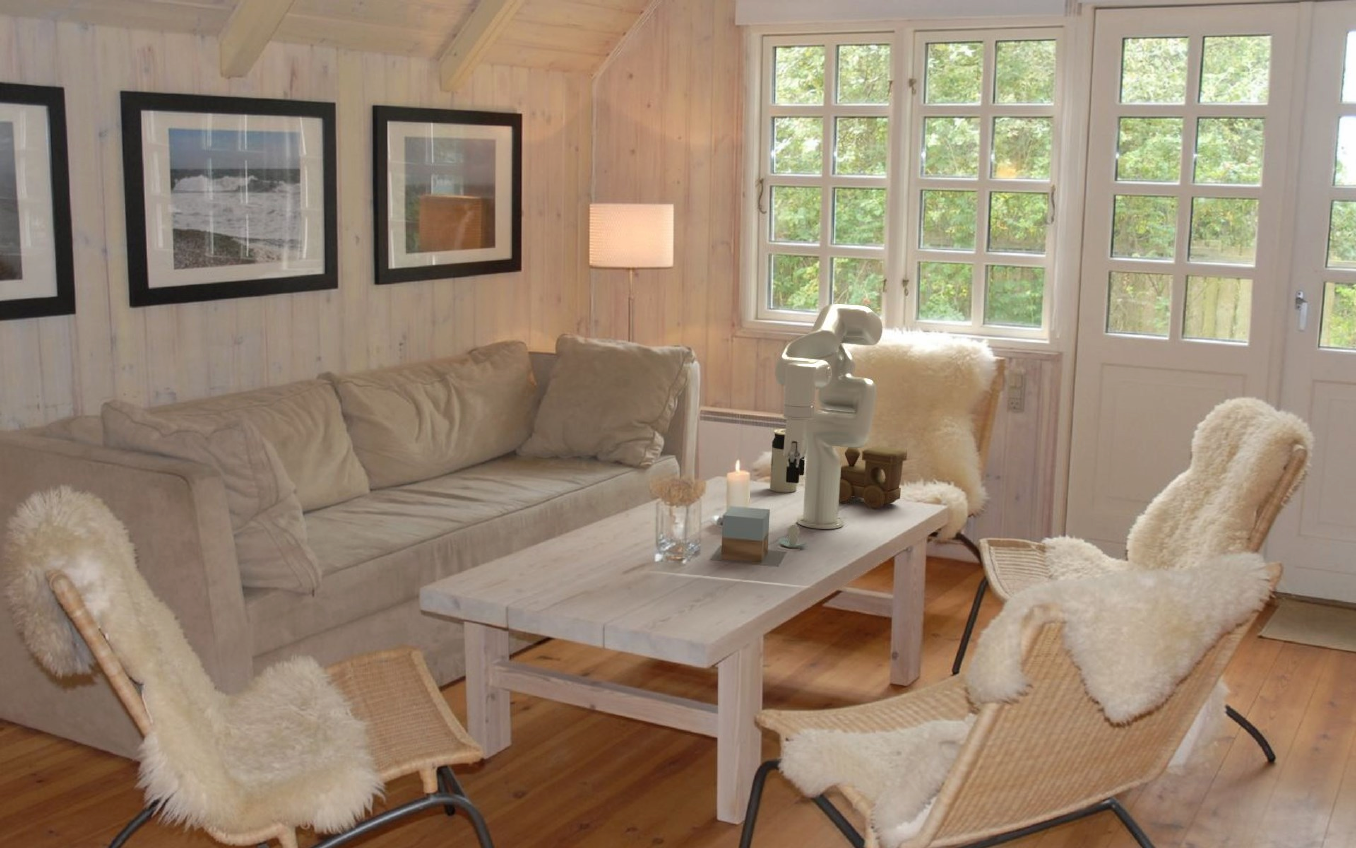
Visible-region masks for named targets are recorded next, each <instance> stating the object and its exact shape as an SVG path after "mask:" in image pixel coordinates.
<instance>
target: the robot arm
mask: <svg viewBox="0 0 1356 848" xmlns="http://www.w3.org/2000/svg"><path fill="white" fill-rule="evenodd" d="M882 337H883V323H882V319H881V318H880V316H879V315H878V314H877V313H876V312H875V311H873V310H872V309H871V308H869V307H867V306H864V305H855V304H854V305H853V304H843V303H841V304H840V303H832V304H828V305H825V306H824V307H823V308H822V309H821V310H820V312H819V315H818V316H817V318H816V319H815V322H814V324H813V326H812V328H811V331H810V332H809V333H806V334H804V335H802V336H800V337H798V338H796V339H794V340H792V341H791V342H789V343H788V344H787V345H785V346H784V348H783V350H782V351H781V353H780V356H779V357H778V360H777V362H776V365H775V368H774V369H775V370H774V375H775V381H776V382H777V383H778V384H779V385H781V386H783V387H784V395H783V396H784V399H783V412H782V413H783V415H782V417H783V418H785V419H786V421H785V428H784V429H785V440H784V451H783V456H784V457H785V458H786V457H787V456H788V462H787V469H786V482H788V483H797V484H798V483H800V476H804V475H805V479H804V498H803V515H799V516H798V517H797V518H796V519H797V520H796V523H798V524H799V525H800V526H802V527H806V528H808V529H810V528H811V529H819V530H820V529H821V530H833V529H839V528H841V527H843V526H844V523H845V522H844V519H842V518H841V517H839V510H840V509H839V508H840V505H839V504H840V502H839V493H840V476H841V467H842V460H841V457H840V455H839V452H838V451H837V450H836V448H835V447H841V448H843V447H844V448H848V447H851V448H857V449H860V448H863V447H865V446H866V444H867V442H868V440H869V437H870V434H871V433H870V432H871V428H872V423H873V418H874V414H875V409H876V406H877V405H876V404H877V396H878V394H877V393H878V391H877V390H878V389H877V386H876V384H875V382H874V381H873V379H869V378H868V377H859V376H854V374H855V371H856V366H857V365H856V360H855V359H854V357H853V355H852V354H851V353H850V351H849V350H848V349H847V347H846V346H845V345H844V344H847V345H857V346H859V345H860V346H874V345H875V346H876V345H877V344H878V343H879V342H880V340H881V339H882ZM816 390H818V391H817V402H818V404H819V406H820V407H822V408H819V409H815V395H816V394H815V393H816ZM805 455H806V456H805ZM805 459H806V460H805Z"/></svg>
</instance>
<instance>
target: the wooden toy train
mask: <svg viewBox="0 0 1356 848" xmlns="http://www.w3.org/2000/svg"><path fill="white" fill-rule="evenodd" d="M844 457H845V458H846V462H847V464H844V465H841V476H840V493H839V504H840V503H841V504H847V503H849V501H851V499H852V497H853V498H854V499H855V498H856V499H858V498H859V499H862V500H863V503H864V504H865V505H866V506H867V507H868V508H870V509H874V510H878V509H879V508H881V507H883V505H884V504H893V503H895V502H896V501H898V500H900V499H901V489H902V488H901V487H900V486H901V485H900V484H901V479H902V475H903V473H902V472H903V463H904V462H905V461H907V458H908V451H907V450H903V449H900V448H892V447H885V446H872V447H869V448H866V449H864V450H863V451H862V455H861V452H860V451H859V448H851V447H847V448H846V450H845V452H844ZM860 457H861V460H862V461H863V462H864V461H865V462H864V465H856V464H857V461H858V460H859V458H860ZM882 472H883V474H884V476H883V474H882Z"/></svg>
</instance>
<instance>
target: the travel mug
mask: <svg viewBox="0 0 1356 848" xmlns="http://www.w3.org/2000/svg"><path fill="white" fill-rule="evenodd" d="M785 429H786V428H779V429H774V430H773V433H774V434H773V435H774V438H773V440H772V441H771V443H772V444H771V460H770V462H771V463H770V481H769V489H770V490H771V491H773V492H774V493H775V492H777V493H783V494H784V493H785V494H787V493H793V492H795V491H797V489H798V488H797V485H798V483H788V482H786V469H787V462H788V456H787V457H786V458H785V457H784V456H783V451H784V440H785Z"/></svg>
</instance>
